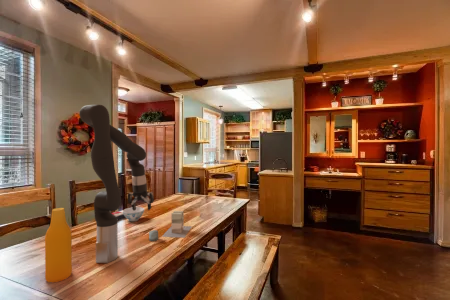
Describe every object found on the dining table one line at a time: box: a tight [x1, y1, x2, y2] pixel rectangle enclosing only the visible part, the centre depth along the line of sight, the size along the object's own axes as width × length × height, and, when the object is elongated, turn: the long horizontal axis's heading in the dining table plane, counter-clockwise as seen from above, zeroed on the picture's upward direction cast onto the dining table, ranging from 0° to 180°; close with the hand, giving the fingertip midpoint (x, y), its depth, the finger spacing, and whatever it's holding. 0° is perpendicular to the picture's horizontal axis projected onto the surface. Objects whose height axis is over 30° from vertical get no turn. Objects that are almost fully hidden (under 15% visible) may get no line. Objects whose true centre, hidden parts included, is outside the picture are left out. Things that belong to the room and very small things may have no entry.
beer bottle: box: [44, 207, 73, 284], centre depth 97 cm, size 9×9×29 cm
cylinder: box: [148, 229, 159, 242], centre depth 133 cm, size 5×5×6 cm
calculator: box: [111, 210, 127, 221], centre depth 176 cm, size 11×4×15 cm
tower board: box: [161, 225, 193, 239], centre depth 146 cm, size 19×14×2 cm
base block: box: [171, 220, 185, 233], centre depth 146 cm, size 6×6×6 cm
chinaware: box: [122, 206, 145, 222], centre depth 173 cm, size 15×15×8 cm
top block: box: [171, 210, 185, 224], centre depth 146 cm, size 6×6×6 cm
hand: (142, 209), depth 133 cm, fingers open, 8 cm apart
